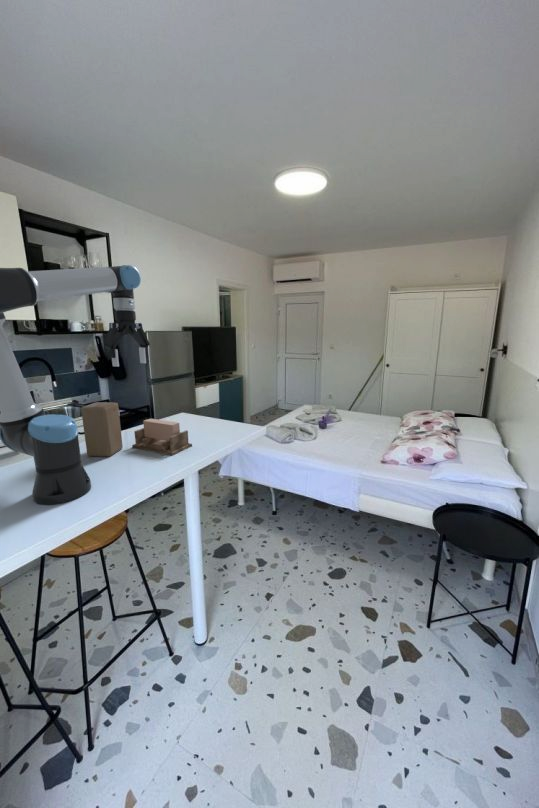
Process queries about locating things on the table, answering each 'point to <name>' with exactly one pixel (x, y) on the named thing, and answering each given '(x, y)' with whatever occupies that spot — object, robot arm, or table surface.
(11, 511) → the table surface
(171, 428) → the pinkish tan block
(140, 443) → the rack
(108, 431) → the wooden block
